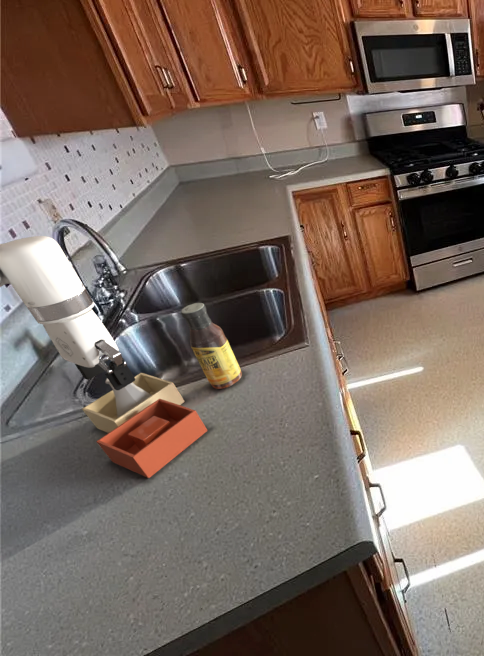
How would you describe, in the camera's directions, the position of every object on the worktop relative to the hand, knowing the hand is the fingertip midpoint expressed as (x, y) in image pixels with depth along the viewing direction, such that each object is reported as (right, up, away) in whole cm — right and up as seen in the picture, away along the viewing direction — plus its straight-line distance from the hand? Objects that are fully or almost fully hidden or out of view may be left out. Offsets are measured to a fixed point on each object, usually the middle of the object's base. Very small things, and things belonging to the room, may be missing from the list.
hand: (110, 380), depth 81 cm
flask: (+1, -8, +5) cm, 10 cm away
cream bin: (+1, -9, +6) cm, 10 cm away
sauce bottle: (+14, -4, +13) cm, 20 cm away
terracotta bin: (+12, -12, -2) cm, 17 cm away
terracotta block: (+12, -11, -3) cm, 17 cm away
